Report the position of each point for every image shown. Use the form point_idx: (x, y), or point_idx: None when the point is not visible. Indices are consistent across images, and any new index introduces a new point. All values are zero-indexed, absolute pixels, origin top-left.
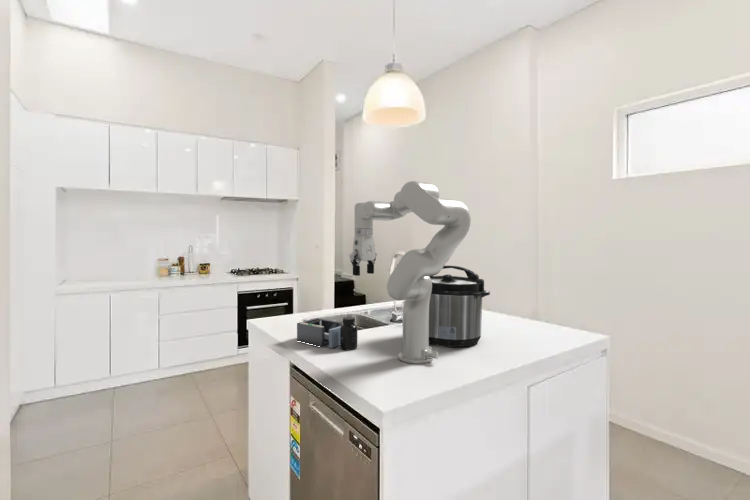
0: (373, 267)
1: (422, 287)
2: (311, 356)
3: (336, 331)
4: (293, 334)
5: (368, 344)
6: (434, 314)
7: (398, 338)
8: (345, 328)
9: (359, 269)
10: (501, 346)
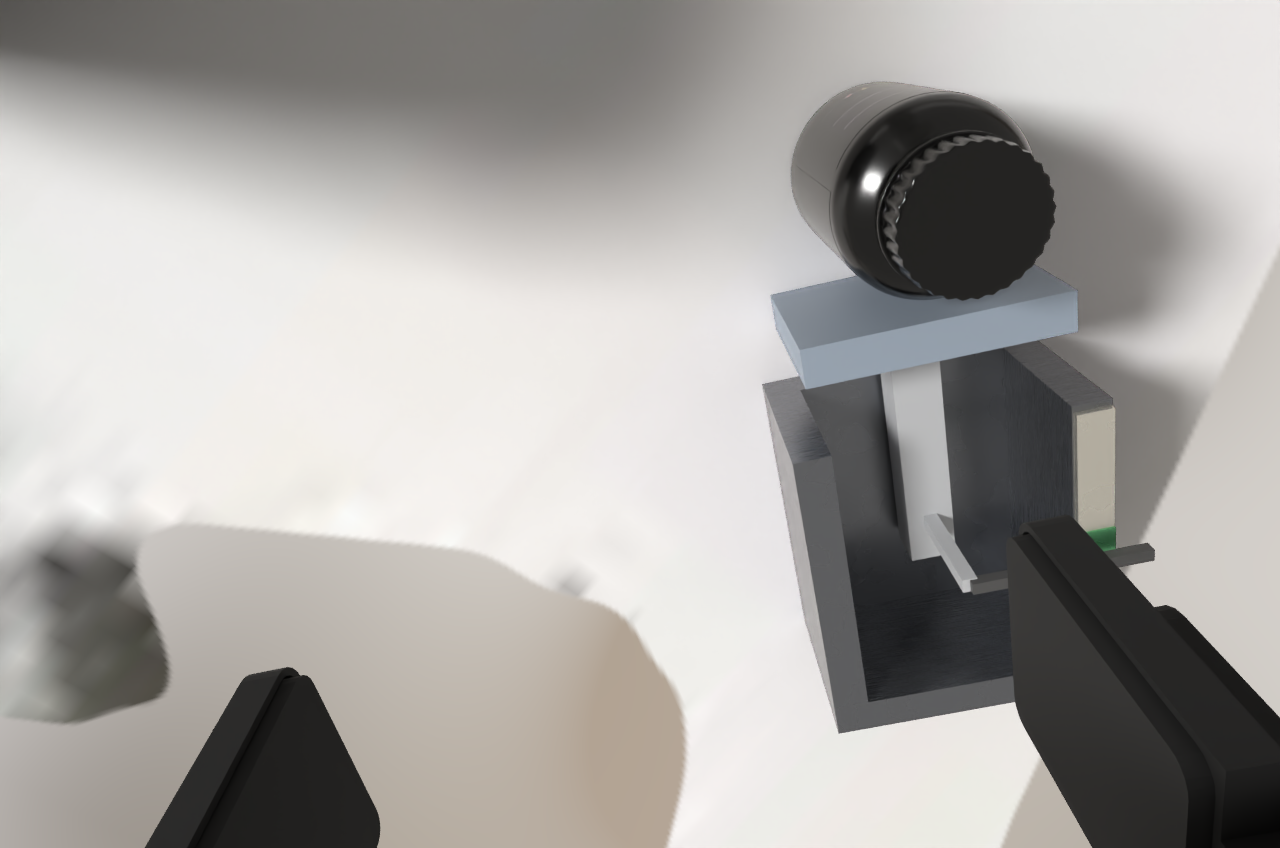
0: (183, 829)
1: None
2: (1259, 185)
3: (988, 298)
4: (901, 750)
5: (650, 132)
6: None
7: (257, 88)
8: (1032, 154)
9: (1153, 642)
10: None
